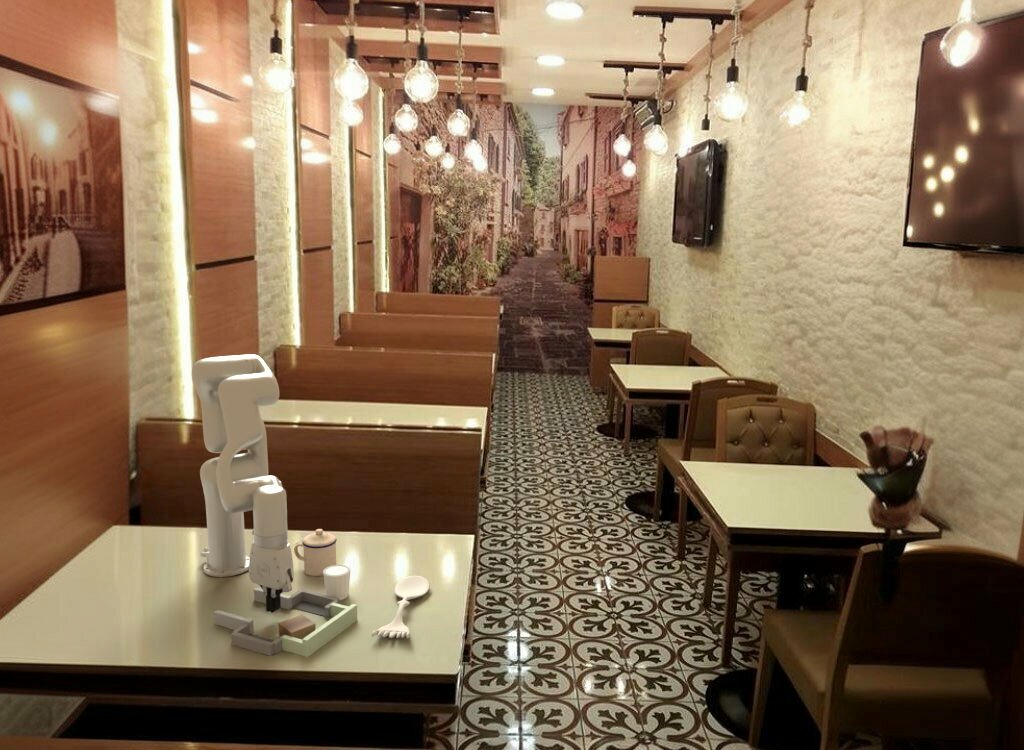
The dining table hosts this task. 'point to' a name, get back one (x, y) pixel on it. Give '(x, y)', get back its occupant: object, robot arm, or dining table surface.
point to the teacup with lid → (317, 552)
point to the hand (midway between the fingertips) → (273, 609)
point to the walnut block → (296, 627)
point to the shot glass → (337, 581)
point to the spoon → (403, 605)
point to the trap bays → (268, 647)
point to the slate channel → (304, 647)
